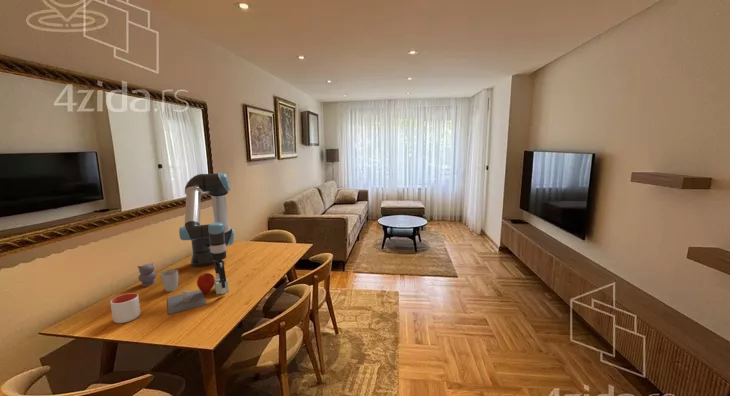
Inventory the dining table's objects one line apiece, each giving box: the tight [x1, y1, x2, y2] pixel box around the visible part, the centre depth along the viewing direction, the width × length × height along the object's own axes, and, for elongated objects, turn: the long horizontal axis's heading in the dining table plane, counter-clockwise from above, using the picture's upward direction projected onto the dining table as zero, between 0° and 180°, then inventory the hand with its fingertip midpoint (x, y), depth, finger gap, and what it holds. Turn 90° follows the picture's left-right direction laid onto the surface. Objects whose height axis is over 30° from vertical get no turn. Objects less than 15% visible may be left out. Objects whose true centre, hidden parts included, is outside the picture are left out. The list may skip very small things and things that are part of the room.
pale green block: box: [214, 277, 230, 295], centre depth 163 cm, size 6×6×7 cm
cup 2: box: [160, 269, 179, 293], centre depth 165 cm, size 8×8×10 cm
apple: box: [196, 272, 216, 295], centre depth 160 cm, size 9×8×11 cm
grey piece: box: [167, 289, 207, 316], centre depth 151 cm, size 20×16×5 cm
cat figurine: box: [137, 262, 157, 287], centre depth 172 cm, size 8×8×12 cm
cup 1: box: [109, 292, 141, 324], centre depth 136 cm, size 10×10×10 cm
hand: (221, 288), depth 163 cm, fingers open, 13 cm apart
